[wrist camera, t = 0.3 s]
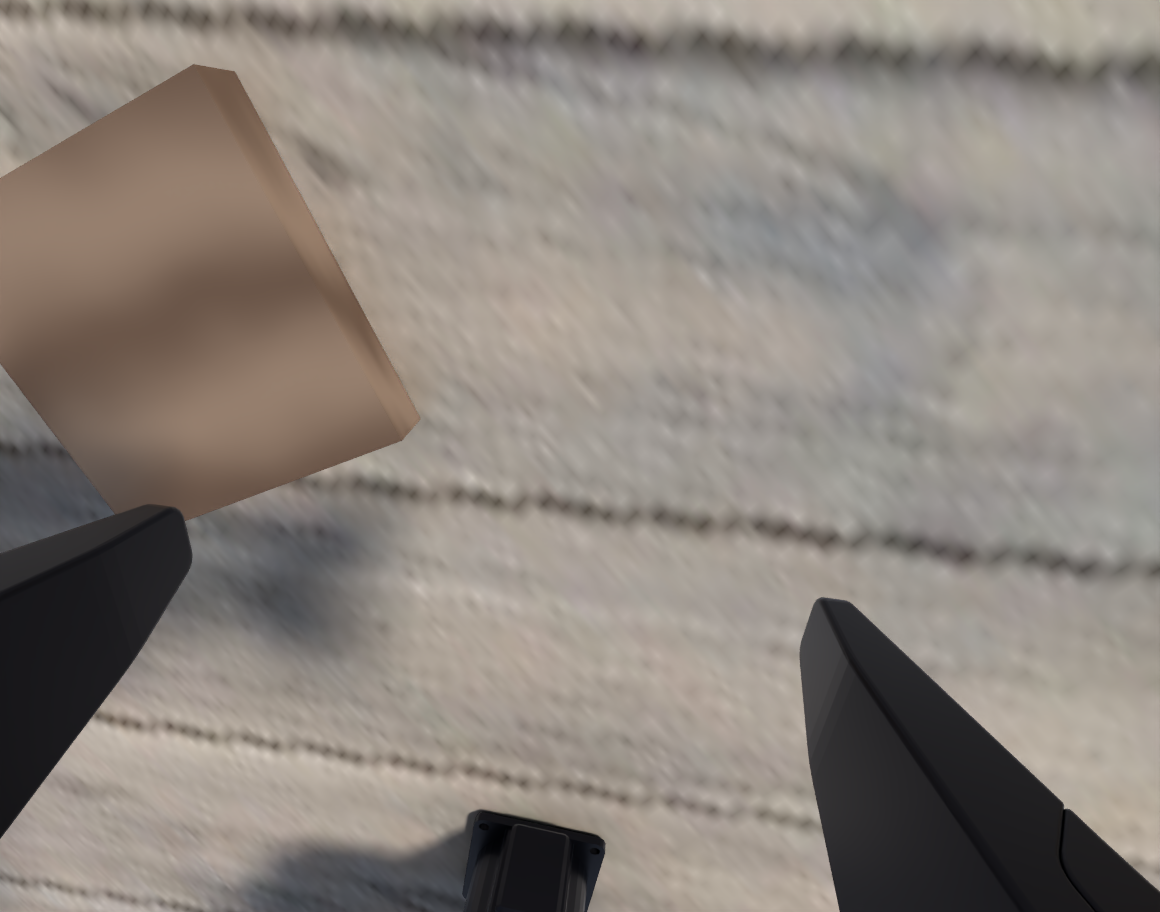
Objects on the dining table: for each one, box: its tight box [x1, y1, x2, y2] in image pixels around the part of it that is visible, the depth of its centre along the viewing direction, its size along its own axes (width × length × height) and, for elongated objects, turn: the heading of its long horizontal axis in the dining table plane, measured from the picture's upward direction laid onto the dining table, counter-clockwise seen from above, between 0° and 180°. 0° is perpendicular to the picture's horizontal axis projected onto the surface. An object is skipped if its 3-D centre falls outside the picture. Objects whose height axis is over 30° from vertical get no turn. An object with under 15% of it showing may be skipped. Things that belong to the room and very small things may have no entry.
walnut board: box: [0, 64, 420, 521], centre depth 23 cm, size 12×12×2 cm
